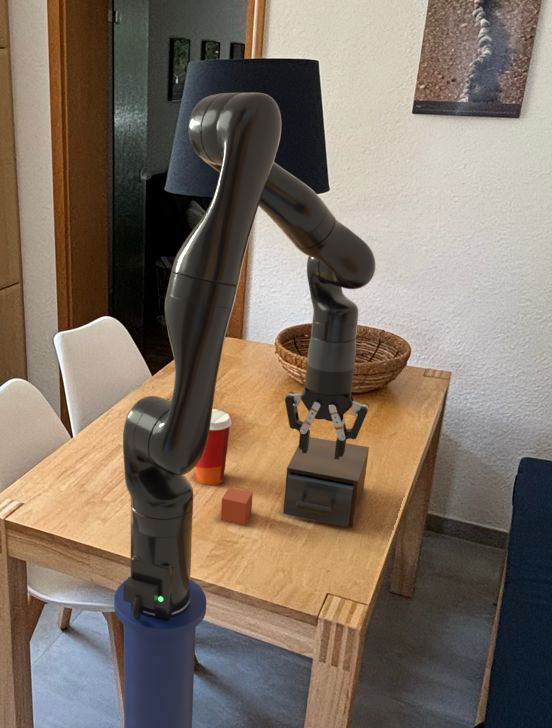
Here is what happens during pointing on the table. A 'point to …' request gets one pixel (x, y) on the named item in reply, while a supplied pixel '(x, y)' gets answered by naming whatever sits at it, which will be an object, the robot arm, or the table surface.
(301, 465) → the cabinet
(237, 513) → the block
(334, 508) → the drawer
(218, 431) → the paper cup
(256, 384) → the table surface
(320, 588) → the table surface
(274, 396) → the table surface
